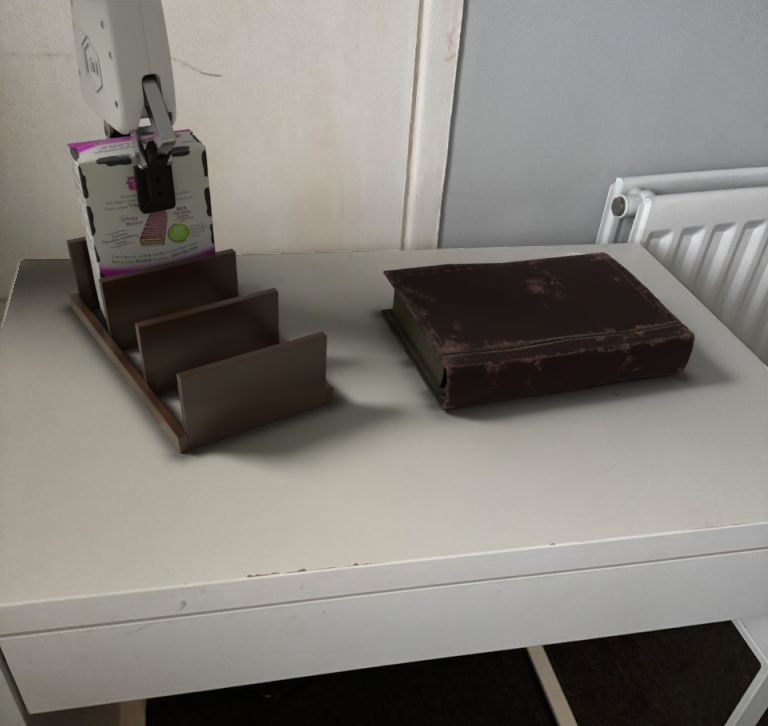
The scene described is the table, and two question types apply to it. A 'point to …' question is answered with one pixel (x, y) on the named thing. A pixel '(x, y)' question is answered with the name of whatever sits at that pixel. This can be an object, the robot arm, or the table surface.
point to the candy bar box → (121, 209)
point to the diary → (531, 327)
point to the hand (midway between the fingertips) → (144, 194)
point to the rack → (202, 345)
